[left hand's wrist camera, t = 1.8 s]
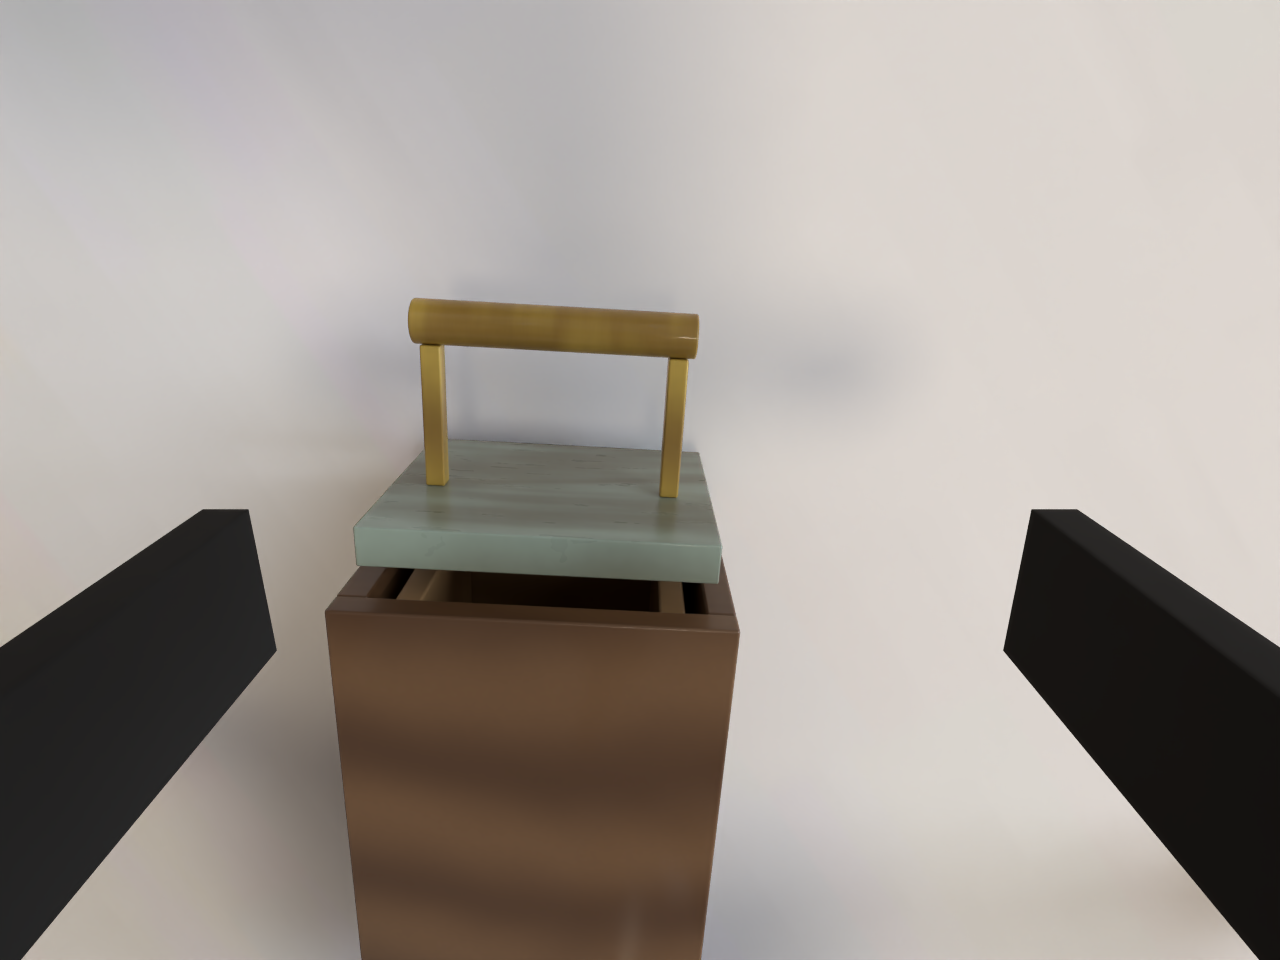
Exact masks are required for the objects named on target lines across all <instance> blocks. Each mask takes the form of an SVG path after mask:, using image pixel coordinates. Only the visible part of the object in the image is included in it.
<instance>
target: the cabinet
mask: <svg viewBox="0 0 1280 960" xmlns="http://www.w3.org/2000/svg"><path fill="white" fill-rule="evenodd" d="M414 570H415V569H412V568H392V567H372V566H360V567H359V568H358V569H357V571H356V572H355V573H354V575H353V576H352V577H351V578H350V580H349V581H348V582H347V583H346V585H345V586H344V587H343V588H342V590H341V591H340V592H339V594H338V595H337V597H336V598H335V599H334V600H333V602H332V603H331V604H330V605H329V607H328V608H327V609H326V611H325V618H326V628H327V637H328V646H329V656H330V665H331V675H332V684H333V694H334V703H335V713H336V722H337V732H338V741H339V750H340V760H341V769H342V779H343V788H344V798H345V807H346V817H347V826H348V836H349V845H350V854H351V864H352V873H353V883H354V892H355V902H356V911H357V921H358V930H359V940H360V949H361V958H362V960H701V955H702V946H703V938H704V930H705V921H706V913H707V905H708V896H709V888H710V880H711V871H712V863H713V855H714V846H715V838H716V829H717V821H718V813H719V804H720V796H721V788H722V779H723V771H724V763H725V754H726V746H727V738H728V729H729V721H730V713H731V704H732V696H733V688H734V679H735V671H736V663H737V654H738V646H739V638H740V630H739V626H738V621H737V618H736V613H735V609H734V605H733V601H732V597H731V592H730V588H729V584H728V580H727V575H726V571H725V567H724V563H723V559H722V554H721V564H720V573H719V582H718V584H710V583H690V582H682V587H683V596H684V605H685V613H665V612H644V611H624V610H604V609H584V608H564V607H543V606H523V605H503V604H483V603H463V602H442V601H422V600H402V599H396V598H397V596H398V595H399V593H400V592H401V590H402V589H403V587H404V585H405V584H406V582H407V581H408V579H409V577H410V576H411V574H412V573H413V571H414Z"/></svg>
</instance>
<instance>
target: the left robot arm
mask: <svg viewBox="0 0 1280 960" xmlns="http://www.w3.org/2000/svg"><path fill="white" fill-rule="evenodd" d="M276 651H277V649H276V644H275V639H274V634H273V629H272V624H271V619H270V614H269V609H268V605H267V600H266V595H265V590H264V585H263V580H262V575H261V570H260V565H259V560H258V555H257V550H256V545H255V540H254V535H253V530H252V525H251V520H250V515H249V510H248V509H203V510H201V511H200V512H198V513H197V514H195V515H194V516H192V517H191V518H189V519H188V520H186V521H185V522H184V523H182V524H181V525H179V526H178V527H176V528H175V529H173V530H172V531H170V532H169V533H167V534H166V535H164V536H163V537H162V538H160V539H159V540H157V541H156V542H154V543H153V544H151V545H150V546H148V547H147V548H145V549H144V550H142V551H141V552H140V553H138V554H137V555H135V556H134V557H132V558H131V559H129V560H128V561H126V562H125V563H123V564H122V565H120V566H119V567H118V568H116V569H115V570H113V571H112V572H110V573H109V574H107V575H106V576H104V577H103V578H101V579H100V580H98V581H97V582H96V583H94V584H93V585H91V586H90V587H88V588H87V589H85V590H84V591H82V592H81V593H79V594H78V595H76V596H75V597H74V598H72V599H71V600H69V601H68V602H66V603H65V604H63V605H62V606H60V607H59V608H57V609H56V610H54V611H53V612H51V613H50V614H49V615H47V616H46V617H44V618H43V619H41V620H40V621H38V622H37V623H35V624H34V625H32V626H31V627H29V628H28V629H27V630H25V631H24V632H22V633H21V634H19V635H18V636H16V637H15V638H13V639H12V640H10V641H9V642H7V643H6V644H5V645H3V646H2V647H0V960H21V959H22V958H23V957H24V955H25V954H26V953H27V952H28V951H29V949H30V948H31V947H32V946H33V945H34V943H35V942H36V941H37V940H38V938H39V937H40V936H41V935H42V934H43V932H44V931H45V930H46V929H47V928H48V926H49V925H50V924H51V923H52V922H53V920H54V919H55V918H56V917H57V916H58V914H59V913H60V912H61V911H62V909H63V908H64V907H65V906H66V905H67V903H68V902H69V901H70V900H71V899H72V897H73V896H74V895H75V894H76V893H77V891H78V890H79V889H80V888H81V887H82V885H83V884H84V883H85V882H86V880H87V879H88V878H89V877H90V876H91V874H92V873H93V872H94V871H95V870H96V868H97V867H98V866H99V865H100V864H101V862H102V861H103V860H104V859H105V858H106V856H107V855H108V854H109V853H110V851H111V850H112V849H113V848H114V847H115V845H116V844H117V843H118V842H119V841H120V839H121V838H122V837H123V836H124V835H125V833H126V832H127V831H128V830H129V828H130V827H131V826H132V825H133V824H134V822H135V821H136V820H137V819H138V818H139V816H140V815H141V814H142V813H143V812H144V810H145V809H146V808H147V807H148V806H149V804H150V803H151V802H152V801H153V799H154V798H155V797H156V796H157V795H158V793H159V792H160V791H161V790H162V789H163V787H164V786H165V785H166V784H167V783H168V781H169V780H170V779H171V778H172V777H173V775H174V774H175V773H176V772H177V770H178V769H179V768H180V767H181V766H182V764H183V763H184V762H185V761H186V760H187V758H188V757H189V756H190V755H191V754H192V752H193V751H194V750H195V749H196V748H197V746H198V745H199V744H200V743H201V741H202V740H203V739H204V738H205V737H206V735H207V734H208V733H209V732H210V731H211V729H212V728H213V727H214V726H215V725H216V723H217V722H218V721H219V720H220V718H221V717H222V716H223V715H224V714H225V712H226V711H227V710H228V709H229V708H230V706H231V705H232V704H233V703H234V702H235V700H236V699H237V698H238V697H239V696H240V694H241V693H242V692H243V691H244V689H245V688H246V687H247V686H248V685H249V683H250V682H251V681H252V680H253V679H254V677H255V676H256V675H257V674H258V673H259V671H260V670H261V669H262V668H263V667H264V665H265V664H266V663H267V662H268V660H269V659H270V658H271V657H272V656H273V654H274V653H275V652H276ZM1003 651H1004V652H1005V653H1006V654H1007V656H1008V657H1009V658H1010V659H1011V660H1012V662H1013V663H1014V664H1015V665H1016V667H1017V668H1018V669H1019V670H1020V671H1021V673H1022V674H1023V675H1024V676H1025V677H1026V679H1027V680H1028V681H1029V682H1030V683H1031V685H1032V686H1033V687H1034V688H1035V689H1036V691H1037V692H1038V693H1039V694H1040V696H1041V697H1042V698H1043V699H1044V700H1045V702H1046V703H1047V704H1048V705H1049V706H1050V708H1051V709H1052V710H1053V711H1054V712H1055V714H1056V715H1057V716H1058V717H1059V718H1060V720H1061V721H1062V722H1063V723H1064V725H1065V726H1066V727H1067V728H1068V729H1069V731H1070V732H1071V733H1072V734H1073V735H1074V737H1075V738H1076V739H1077V740H1078V741H1079V743H1080V744H1081V745H1082V746H1083V748H1084V749H1085V750H1086V751H1087V752H1088V754H1089V755H1090V756H1091V757H1092V758H1093V760H1094V761H1095V762H1096V763H1097V764H1098V766H1099V767H1100V768H1101V769H1102V770H1103V772H1104V773H1105V774H1106V775H1107V777H1108V778H1109V779H1110V780H1111V781H1112V783H1113V784H1114V785H1115V786H1116V787H1117V789H1118V790H1119V791H1120V792H1121V793H1122V795H1123V796H1124V797H1125V798H1126V799H1127V801H1128V802H1129V803H1130V804H1131V806H1132V807H1133V808H1134V809H1135V810H1136V812H1137V813H1138V814H1139V815H1140V816H1141V818H1142V819H1143V820H1144V821H1145V822H1146V824H1147V825H1148V826H1149V827H1150V828H1151V830H1152V831H1153V832H1154V833H1155V835H1156V836H1157V837H1158V838H1159V839H1160V841H1161V842H1162V843H1163V844H1164V845H1165V847H1166V848H1167V849H1168V850H1169V851H1170V853H1171V854H1172V855H1173V856H1174V858H1175V859H1176V860H1177V861H1178V862H1179V864H1180V865H1181V866H1182V867H1183V868H1184V870H1185V871H1186V872H1187V873H1188V874H1189V876H1190V877H1191V878H1192V879H1193V880H1194V882H1195V883H1196V884H1197V885H1198V887H1199V888H1200V889H1201V890H1202V891H1203V893H1204V894H1205V895H1206V896H1207V897H1208V899H1209V900H1210V901H1211V902H1212V903H1213V905H1214V906H1215V907H1216V908H1217V909H1218V911H1219V912H1220V913H1221V914H1222V916H1223V917H1224V918H1225V919H1226V920H1227V922H1228V923H1229V924H1230V925H1231V926H1232V928H1233V929H1234V930H1235V931H1236V932H1237V934H1238V935H1239V936H1240V937H1241V938H1242V940H1243V941H1244V942H1245V943H1246V945H1247V946H1248V947H1249V948H1250V949H1251V951H1252V952H1253V953H1254V954H1255V955H1256V957H1257V958H1258V959H1259V960H1280V647H1278V646H1277V645H1275V644H1274V643H1273V642H1271V641H1270V640H1268V639H1267V638H1265V637H1264V636H1262V635H1261V634H1259V633H1258V632H1256V631H1255V630H1253V629H1252V628H1251V627H1249V626H1248V625H1246V624H1245V623H1243V622H1242V621H1240V620H1239V619H1237V618H1236V617H1234V616H1233V615H1231V614H1230V613H1229V612H1227V611H1226V610H1224V609H1223V608H1221V607H1220V606H1218V605H1217V604H1215V603H1214V602H1212V601H1211V600H1209V599H1208V598H1206V597H1205V596H1204V595H1202V594H1201V593H1199V592H1198V591H1196V590H1195V589H1193V588H1192V587H1190V586H1189V585H1187V584H1186V583H1184V582H1183V581H1182V580H1180V579H1179V578H1177V577H1176V576H1174V575H1173V574H1171V573H1170V572H1168V571H1167V570H1165V569H1164V568H1162V567H1161V566H1160V565H1158V564H1157V563H1155V562H1154V561H1152V560H1151V559H1149V558H1148V557H1146V556H1145V555H1143V554H1142V553H1140V552H1139V551H1138V550H1136V549H1135V548H1133V547H1132V546H1130V545H1129V544H1127V543H1126V542H1124V541H1123V540H1121V539H1120V538H1118V537H1117V536H1116V535H1114V534H1113V533H1111V532H1110V531H1108V530H1107V529H1105V528H1104V527H1102V526H1101V525H1099V524H1098V523H1096V522H1095V521H1094V520H1092V519H1091V518H1089V517H1088V516H1086V515H1085V514H1083V513H1082V512H1080V511H1079V510H1077V509H1032V510H1031V515H1030V520H1029V525H1028V530H1027V535H1026V540H1025V545H1024V550H1023V555H1022V560H1021V565H1020V570H1019V575H1018V580H1017V585H1016V590H1015V595H1014V600H1013V605H1012V609H1011V614H1010V619H1009V624H1008V629H1007V634H1006V639H1005V644H1004V649H1003Z"/></svg>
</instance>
